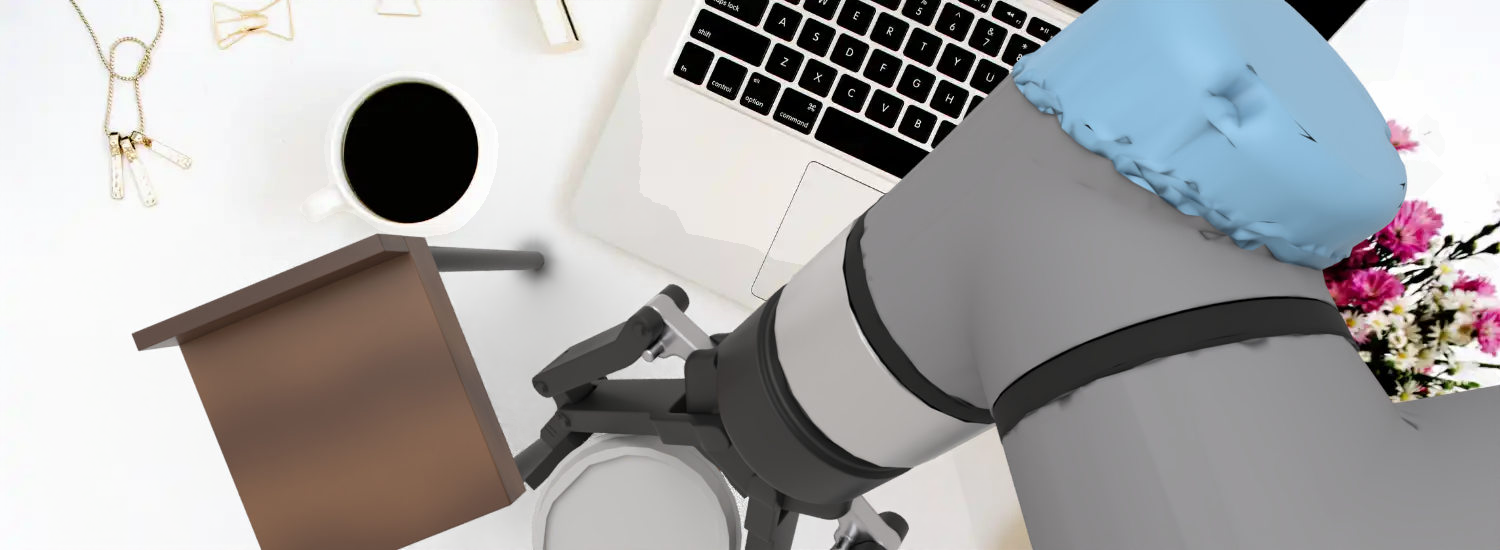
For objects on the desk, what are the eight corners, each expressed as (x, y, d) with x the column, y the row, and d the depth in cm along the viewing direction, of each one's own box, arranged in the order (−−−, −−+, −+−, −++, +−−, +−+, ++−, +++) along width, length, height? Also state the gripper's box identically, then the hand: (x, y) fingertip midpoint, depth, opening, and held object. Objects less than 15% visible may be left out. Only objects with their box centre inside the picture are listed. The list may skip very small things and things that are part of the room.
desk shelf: (527, 490, 50) (493, 521, 44) (308, 577, 50) (245, 619, 44) (425, 236, 50) (377, 232, 44) (207, 325, 50) (130, 333, 44)
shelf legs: (606, 413, 75) (522, 488, 50) (464, 470, 75) (310, 572, 50) (540, 248, 75) (423, 241, 50) (398, 306, 75) (211, 327, 50)
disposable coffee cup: (723, 375, 49) (706, 410, 37) (768, 534, 49) (766, 621, 37) (565, 419, 49) (497, 468, 37) (610, 577, 49) (556, 677, 37)
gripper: (1117, 524, 31) (793, 634, 47) (698, 89, 31) (519, 347, 48) (1060, 697, 26) (718, 753, 42) (558, 174, 26) (411, 430, 42)
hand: (613, 538), depth 45 cm, fingers closed on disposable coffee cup, 9 cm apart
